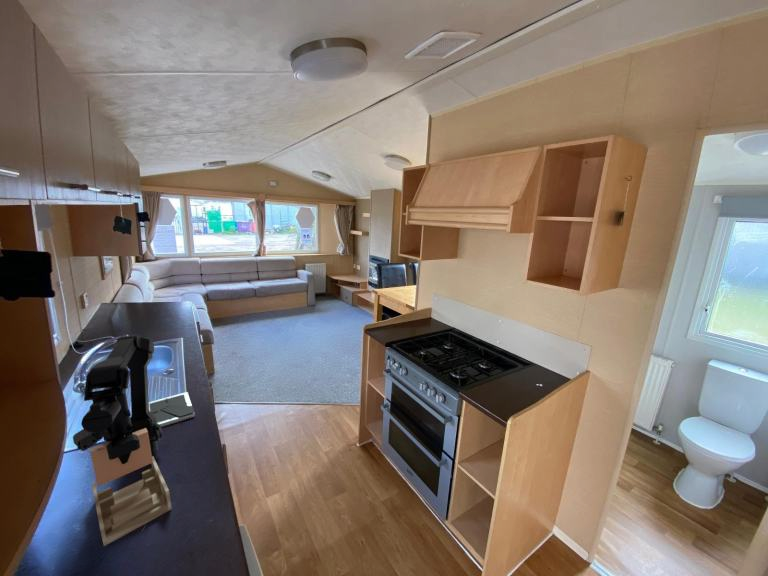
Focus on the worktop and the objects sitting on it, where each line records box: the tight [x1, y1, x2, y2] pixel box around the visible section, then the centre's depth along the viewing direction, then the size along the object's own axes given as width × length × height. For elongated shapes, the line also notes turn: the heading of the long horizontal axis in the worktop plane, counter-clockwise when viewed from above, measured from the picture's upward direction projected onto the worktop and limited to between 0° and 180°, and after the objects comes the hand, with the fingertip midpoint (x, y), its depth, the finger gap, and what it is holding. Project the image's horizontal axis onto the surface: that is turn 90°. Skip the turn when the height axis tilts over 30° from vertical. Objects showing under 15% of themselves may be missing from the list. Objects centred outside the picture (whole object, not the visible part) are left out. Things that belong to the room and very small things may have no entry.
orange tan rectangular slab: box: [89, 428, 153, 488], centre depth 87 cm, size 2×12×10 cm, turn 136°
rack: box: [91, 457, 173, 547], centre depth 86 cm, size 18×14×7 cm
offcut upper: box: [110, 488, 153, 525], centre depth 82 cm, size 4×8×2 cm, turn 136°
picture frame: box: [149, 391, 196, 428], centre depth 131 cm, size 16×3×21 cm
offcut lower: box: [109, 493, 160, 531], centre depth 83 cm, size 4×10×2 cm, turn 136°
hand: (123, 460), depth 87 cm, fingers closed on orange tan rectangular slab, 2 cm apart
